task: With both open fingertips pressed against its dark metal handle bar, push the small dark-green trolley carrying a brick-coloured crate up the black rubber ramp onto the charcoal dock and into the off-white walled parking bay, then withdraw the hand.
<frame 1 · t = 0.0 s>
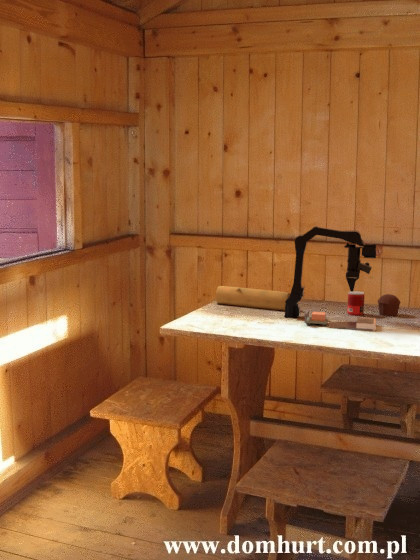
hand: (352, 290, 381), 15 cm above the table, fingers open, 9 cm apart
dock: (352, 326, 369), on the table
log: (252, 307, 413), on the table
muffin: (388, 315, 399), on the table
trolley: (316, 324, 373), on the table
canned food: (355, 314, 398), on the table
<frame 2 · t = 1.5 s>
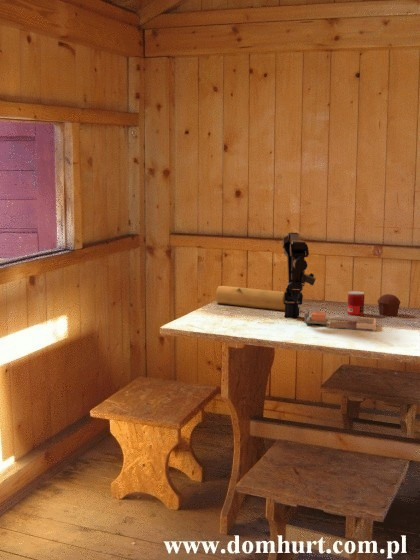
hand: (296, 301, 373), 10 cm above the table, fingers open, 9 cm apart
nothing on the table moved.
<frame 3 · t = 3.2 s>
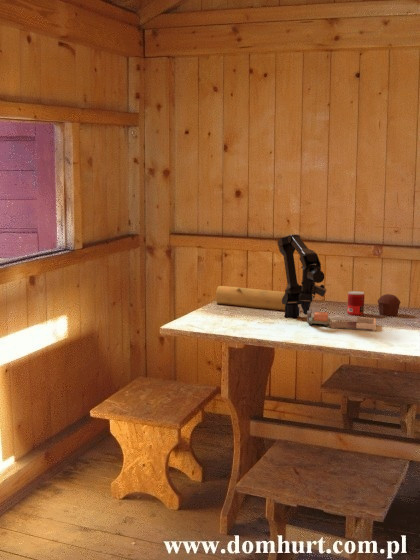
hand: (306, 312, 373), 5 cm above the table
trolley: (318, 324, 373), on the table, touching gripper
everything else where it was.
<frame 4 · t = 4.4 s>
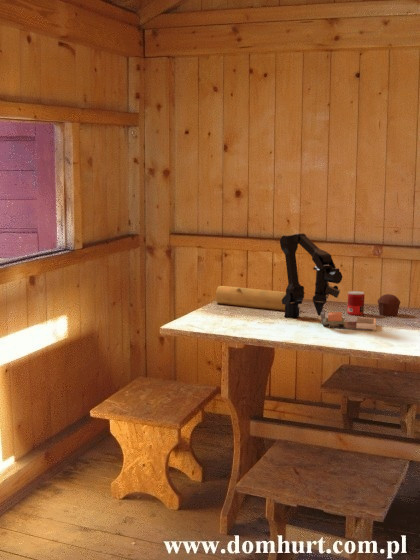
hand: (320, 313, 372), 5 cm above the table
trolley: (333, 324, 371), on the table, touching dock, gripper
everything else where it was.
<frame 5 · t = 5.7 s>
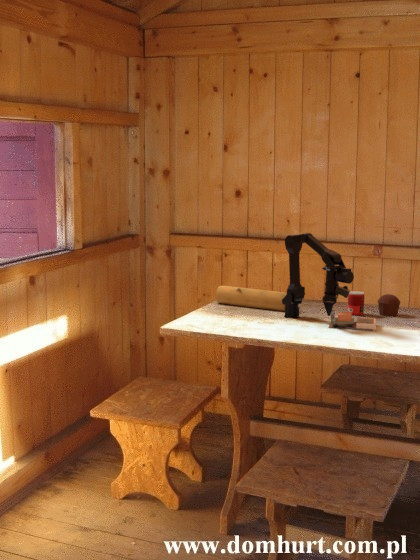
hand: (329, 313, 371), 5 cm above the table
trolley: (342, 324, 370), point 1 cm above the table, touching gripper
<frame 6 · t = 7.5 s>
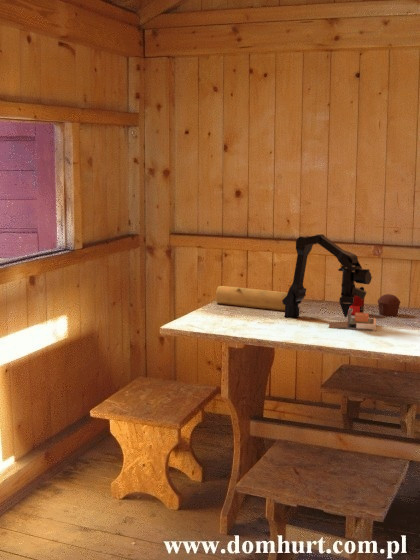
hand: (346, 315, 369), 5 cm above the table
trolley: (359, 325, 369), point 1 cm above the table, touching dock, gripper
everything else where it was.
when the fingers open (5 cm above the table, at t = 7.9 s): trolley stays where it is, resting on dock.
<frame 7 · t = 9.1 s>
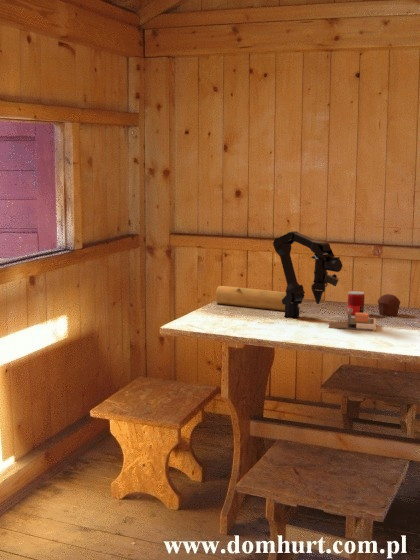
hand: (318, 302, 375), 10 cm above the table, fingers open, 9 cm apart
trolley: (359, 325, 369), point 1 cm above the table, touching dock
everything else where it was.
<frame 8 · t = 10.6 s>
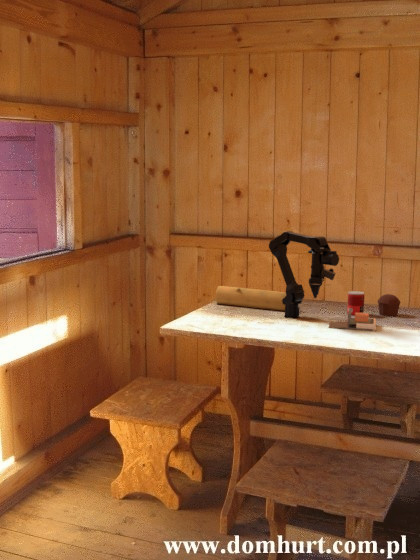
hand: (316, 296, 377), 12 cm above the table, fingers open, 9 cm apart
nothing on the table moved.
at the end: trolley 1.4 cm from the target spot on the dock, point 0.8 cm above the dock's base; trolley tilted 0°; the gripper is holding nothing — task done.
